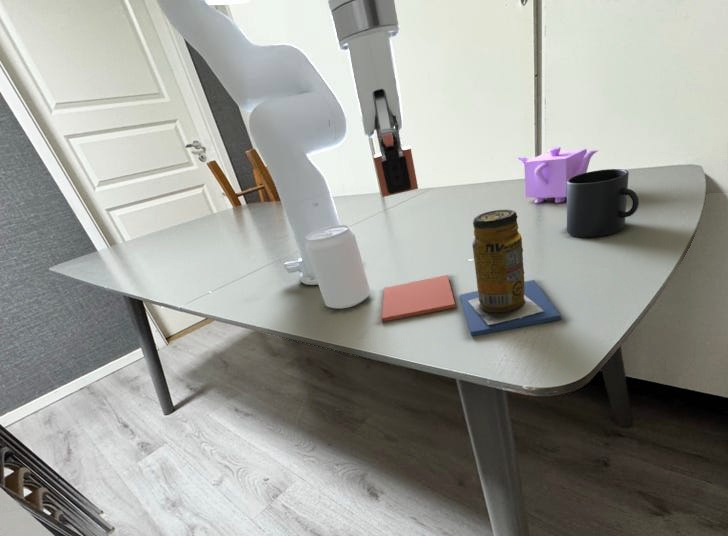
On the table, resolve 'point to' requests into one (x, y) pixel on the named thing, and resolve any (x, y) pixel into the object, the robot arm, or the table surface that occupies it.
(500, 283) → the condiment
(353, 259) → the beverage can
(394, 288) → the terracotta mat
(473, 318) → the slate mat
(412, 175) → the terracotta block
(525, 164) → the teapot
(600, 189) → the mug
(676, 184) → the table surface
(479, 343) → the table surface
